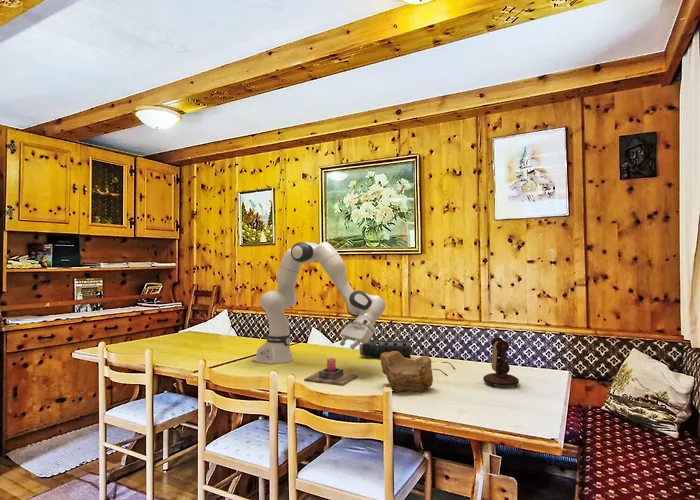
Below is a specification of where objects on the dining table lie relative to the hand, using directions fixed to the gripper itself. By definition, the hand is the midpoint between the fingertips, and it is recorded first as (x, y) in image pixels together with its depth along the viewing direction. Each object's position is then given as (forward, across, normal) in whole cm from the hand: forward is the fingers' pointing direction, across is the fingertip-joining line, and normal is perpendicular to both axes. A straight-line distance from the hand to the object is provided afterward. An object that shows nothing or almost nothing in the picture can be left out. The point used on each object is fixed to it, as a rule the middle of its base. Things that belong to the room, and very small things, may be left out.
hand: (346, 346), depth 210 cm
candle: (+15, 0, +3) cm, 15 cm away
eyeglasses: (-19, +15, +40) cm, 47 cm away
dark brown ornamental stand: (-25, +50, +45) cm, 71 cm away
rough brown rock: (+4, +32, +16) cm, 36 cm away
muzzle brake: (-17, -20, +37) cm, 46 cm away
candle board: (+16, 0, +4) cm, 16 cm away
